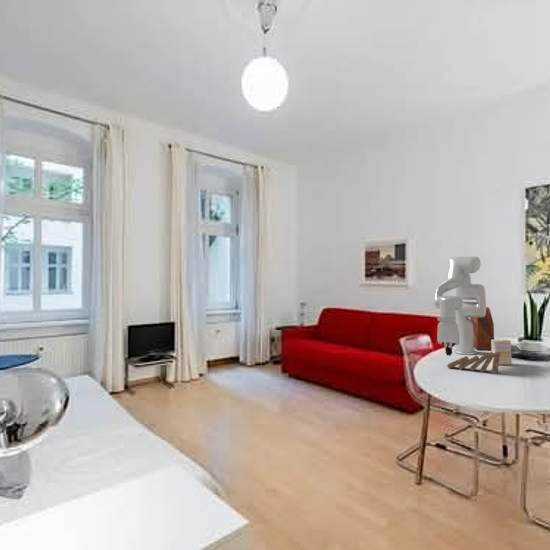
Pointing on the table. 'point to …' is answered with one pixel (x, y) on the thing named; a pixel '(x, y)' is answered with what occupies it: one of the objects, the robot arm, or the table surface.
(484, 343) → the handbag
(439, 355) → the table surface
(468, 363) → the domino
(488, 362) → the domino
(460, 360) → the domino
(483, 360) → the domino
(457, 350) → the robot arm
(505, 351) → the supplement box
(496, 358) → the domino
